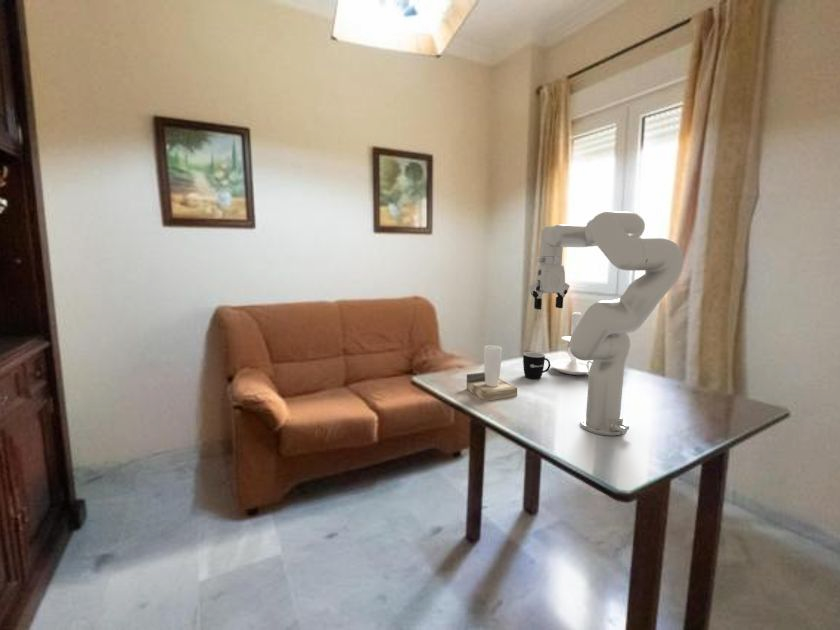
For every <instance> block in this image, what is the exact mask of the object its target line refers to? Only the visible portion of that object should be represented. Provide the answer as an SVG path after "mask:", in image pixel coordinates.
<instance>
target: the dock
mask: <svg viewBox="0 0 840 630" xmlns="http://www.w3.org/2000/svg"><path fill="white" fill-rule="evenodd" d="M466 390H467V391H469V392H470V393H472V394H473V395H475V396H477V397H478V398H480V399H482V400H483V401H484V402H485V401H492V400H493V401H494V400H499V399H506V398H507V399H508V398H512V397H518V387H516V386H515V385H512V384H510V383H508V382H507V381H504V380H502V379H500V378H499V385H498V386H496V387H490V386H487V385H485V371H483V372H476V373H469V374H468V373H467V374H466Z"/></svg>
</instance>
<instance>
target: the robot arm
mask: <svg viewBox="0 0 840 630" xmlns="http://www.w3.org/2000/svg"><path fill="white" fill-rule="evenodd" d="M645 225H646V223H645V221H644V219H643V218H642V216H641V215H639V214H637V213H635V212H630V211H617V210H615V211H612V210H606V211H601V212H598V213H597V214H596V215H595V216H594V217H593V218H591V219H590V220H589V221H587V223H586V224H555V225H553V226H544V227H543V228H542V230H541V238H540V239H541V240H540V257H539V258H538V260H537V261H538V262H539V265H538V268H537V271H536V276H535V282H534V283H532V284H530V285H529V286H528V289H529V291H530V294H531V295H532V297H533V300H534V303H533V304H534V305H533V307H534V309H535V310H542V305H543V304H542V301H543V300H542V296H543V295H544V294H556V297H555V308H556V309H563V308H564V298H565V297H566V295H567V293H568V292H569V289H570V284H568V283H567V282H566V272H565V267H564V265H563V251H564V248H588V247H597V248H598V249H599V250H600V251H601V252H602V253H603V255H604V256H605V257H606V259H608V260H609V262H610V263H611V264H612V265H613V266H614V267H615V268H617V269H619V270H621V271H628V272H629V271H632V272H633V271H644V272H643V273H642V274H640V275H639V276H638V277H637V278H635V279H634V280H633V281H631V283H630V284H629V285H628V286H627V288H626V289H625V291H624V292H623V294H621V296H620V297H619V298H617V299H612V300H610V299H609V300H599V301H596V302H594V303H593V304H591V305H590V306H589V307H588V308H587V310H586V311H585V312H584V314H583V315H582V316H581V320H580V322H579V324H578V325H577V327H576V328H575V330H574V332H573V334H571V335H570V336H571V339H570V342H569V346H570V351H571V353H572V354H573V356H574V357H576V360H579V361H593V362H592V364H591V367H590V370H589V375H588V381H587V382H588V384H587V386H588V387H587V399H586V400H587V401H586V410H585V411H586V413H585V414H586V415H585V416H583V417H582V418H580V420H579V421H580V422H579V423H580V426H581V427H582V428H583V429H584V430H586V431H588V432H590V433H593V434H597V435H601V436H610V437H611V436H613V437H614V436H615V437H616V436H619V435H626V434H627V433H628V431H629V430H630V426H629V425H627V424H624V423H623V421H624V418H623V417H621V410H622V409H621V408H622V397H623V396H622V395H623V385H624V375H625V367H626V361H627V358H628V355H629V352H630V348H631V339H630V336H629V335H628V334H631V333H634V332H637V331H638V330H639V329H640V328H641V327H642V326H643V324H644V323H645V322H646V320H647V319H648V318H649V317H650V315H651V314H652V312H653V311H655V309H656V307H657V306H658V304H659V303H660V302H661V300H662V299H663V298H664V297H665V296H666V294H667V293H668V292H669V291H670V290H671V289H672V288H673V286H675V284H676V283H677V281H678V279H680V276H681V273H682V270H683V266H684V257H683V253H682V250H681V248H680V246H679V245H678V244H677V243H676V242H674V241H672V240H670V239H666V238H662V237H641V236H642V235H643V233H644V231H645V228H646V227H645Z"/></svg>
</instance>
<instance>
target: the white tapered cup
mask: <svg viewBox="0 0 840 630" xmlns="http://www.w3.org/2000/svg"><path fill="white" fill-rule="evenodd" d="M502 351H503V348H502V346H500V345H496V344H495V345H494V344H489V345H485V346H484V347H483V367H484V371H483V372H485V385H487V386H490V387H496V386H498V385H499V379H500V374H501V367H502V366H501V365H502V357H503V355H502V353H503V352H502Z"/></svg>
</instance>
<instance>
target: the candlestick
mask: <svg viewBox="0 0 840 630" xmlns="http://www.w3.org/2000/svg"><path fill="white" fill-rule="evenodd" d="M581 319H582V313H581V312H580V311H574V312H572V314H571V323H570V324H571V328H570V335H569V336H568V335H567V336H566V335H565V336H561V339H562V340H564V341H567V342H569V343H570V339H571V336H572V334H573V332H574V330H575V328H576V327H577V325H578V324H579V322H580V320H581ZM566 350H567V351H566V352H567V355H568V357H569V358H570V359H555V360H553V361H550V367H551V368H554V369H555V370H557V371H558V372H560V373H563V374H568V375H572V376H573V375H574V376H575V375H576V376H583V375H587V376H589V370H590V367H591V364H592V362H593V360H587V361H584V360H578V359H577V358H576V357H574V356H573V354H572V353H571V351H570V345H569V346H568V348H567V349H566Z"/></svg>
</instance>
